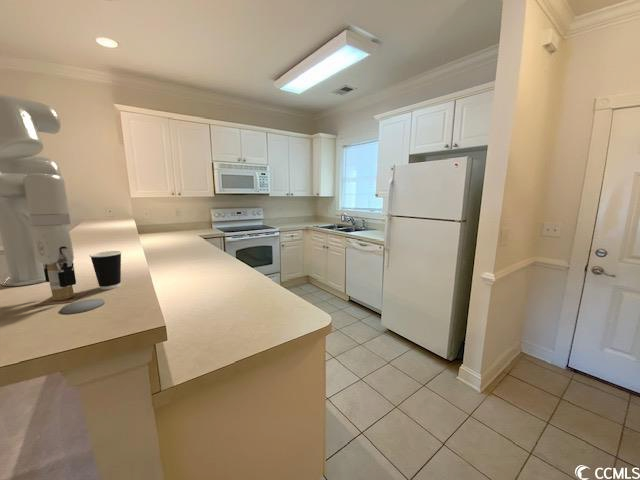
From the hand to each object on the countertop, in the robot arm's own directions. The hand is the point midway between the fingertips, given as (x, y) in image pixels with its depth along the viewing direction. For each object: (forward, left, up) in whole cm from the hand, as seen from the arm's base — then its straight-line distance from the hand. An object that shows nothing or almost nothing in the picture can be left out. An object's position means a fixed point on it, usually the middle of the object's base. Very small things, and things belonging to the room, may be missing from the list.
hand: (61, 282), depth 73 cm
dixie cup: (-8, +8, -5) cm, 12 cm away
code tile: (0, 0, -5) cm, 5 cm away
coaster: (+8, +8, -5) cm, 13 cm away
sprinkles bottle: (0, 0, -5) cm, 5 cm away
